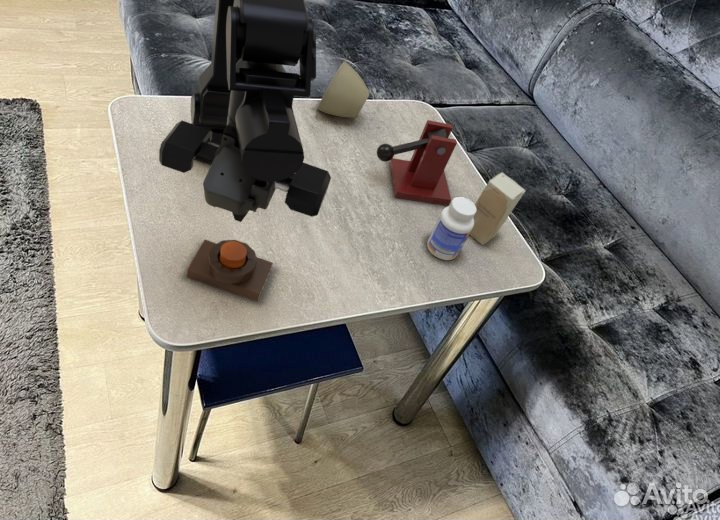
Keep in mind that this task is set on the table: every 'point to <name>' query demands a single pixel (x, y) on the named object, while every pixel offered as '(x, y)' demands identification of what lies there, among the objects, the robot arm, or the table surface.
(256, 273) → the button block
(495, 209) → the box
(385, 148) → the black lever handle
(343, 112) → the bowl
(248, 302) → the table surface
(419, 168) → the lever bracket
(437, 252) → the pill bottle
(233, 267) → the button
